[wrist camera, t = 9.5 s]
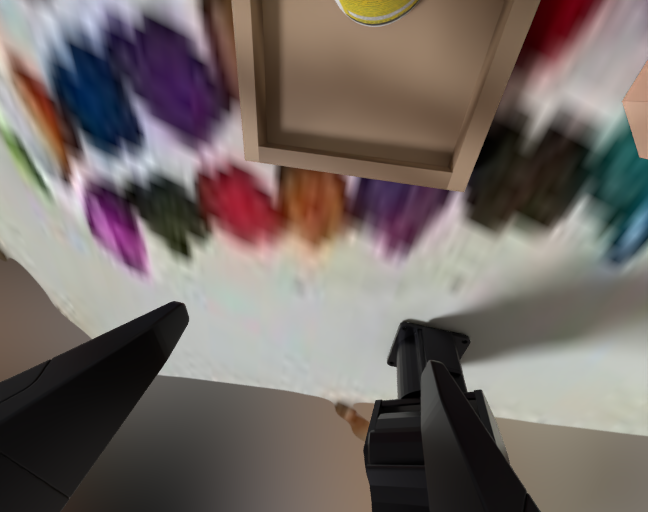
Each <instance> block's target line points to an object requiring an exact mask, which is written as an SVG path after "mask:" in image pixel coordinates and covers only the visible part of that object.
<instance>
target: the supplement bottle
mask: <svg viewBox="0 0 648 512" xmlns="http://www.w3.org/2000/svg"><path fill="white" fill-rule="evenodd" d="M335 1H336V3H337V5H338V6H339V8H340V9H341V10H342V11H343V12H344V13H345V14H346V15H347V16H348V17H349V18H350V19H352V20H353V21H355V22H356V23H359V24H361V25H364V26H369V27H380V26H385V25H388V24H391V23H394V22H396V21H397V20H399V19H401V18H402V17H404V16H405V15H406V14H408V13H409V12H410V11H411V10H412V9H413V8H414V7H415V6H416V5H417V4H418V3H419V1H420V0H335Z"/></svg>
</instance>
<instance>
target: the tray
mask: <svg viewBox="0 0 648 512" xmlns="http://www.w3.org/2000/svg"><path fill="white" fill-rule="evenodd" d="M539 3H540V0H420V1H419V3H418V4H417V5H416V6H415V7H414V8H413V9H412V10H411V11H410V12H409V13H408V14H406V15H405V16H404V17H402V18H401V19H399V20H397V21H396V22H394V23H391V24H388V25H385V26H380V27H369V26H364V25H361V24H359V23H356V22H355V21H353V20H352V19H350V18H349V17H348V16H347V15H346V14H345V13H344V12H343V11H342V10H341V9H340V8H339V6H338V5H337V3H336V1H335V0H232V12H233V24H234V36H235V47H236V59H237V71H238V83H239V95H240V107H241V119H242V131H243V143H244V154H245V160H246V161H253V162H260V163H267V164H273V165H280V166H287V167H294V168H301V169H308V170H315V171H322V172H329V173H336V174H342V175H349V176H356V177H363V178H370V179H377V180H384V181H391V182H398V183H404V184H411V185H418V186H425V187H432V188H439V189H446V190H453V191H460V192H464V191H465V188H466V186H467V183H468V181H469V178H470V176H471V173H472V171H473V168H474V166H475V163H476V161H477V158H478V156H479V153H480V151H481V148H482V146H483V143H484V141H485V138H486V136H487V133H488V131H489V128H490V126H491V123H492V121H493V118H494V116H495V113H496V111H497V108H498V106H499V103H500V101H501V98H502V96H503V93H504V91H505V88H506V86H507V83H508V81H509V78H510V76H511V73H512V71H513V68H514V66H515V63H516V60H517V58H518V55H519V53H520V50H521V48H522V45H523V43H524V40H525V38H526V35H527V33H528V30H529V28H530V25H531V23H532V20H533V18H534V15H535V13H536V10H537V8H538V5H539Z"/></svg>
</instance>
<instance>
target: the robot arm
mask: <svg viewBox="0 0 648 512" xmlns="http://www.w3.org/2000/svg"><path fill="white" fill-rule="evenodd" d="M188 322H189V316H188V312H187V309H186V306H185V304H184V303H181V302H176V301H173V302H170V303H168V304H166V305H164V306H161V307H159V308H157V309H155V310H153V311H151V312H149V313H147V314H145V315H143V316H140V317H138V318H136V319H134V320H132V321H130V322H128V323H126V324H124V325H121V326H119V327H117V328H115V329H113V330H111V331H109V332H107V333H105V334H102V335H100V336H98V337H96V338H94V339H92V340H90V341H88V342H86V343H83V344H81V345H79V346H77V347H75V348H73V349H71V350H69V351H67V352H65V353H62V354H60V355H58V356H56V357H54V358H53V359H52V360H47V361H46V362H43V363H41V364H39V365H37V366H35V367H33V368H30V369H28V370H26V371H24V372H22V373H20V374H17V375H15V376H13V377H11V378H9V379H6V380H4V381H2V382H0V512H61V510H62V509H63V507H64V506H65V505H66V503H67V502H68V500H69V498H70V497H71V496H72V494H73V493H74V491H75V490H76V489H77V487H78V486H79V484H80V483H81V482H82V480H83V479H84V477H85V476H86V475H87V473H88V472H89V470H90V469H91V467H92V466H93V465H94V463H95V462H96V460H97V459H98V458H99V456H100V455H101V453H102V452H103V451H104V449H105V448H106V446H107V445H108V444H109V442H110V441H111V439H112V437H113V436H114V435H115V434H116V432H117V431H118V429H119V428H120V427H121V425H122V424H123V422H124V421H125V419H126V418H127V417H128V415H129V414H130V412H131V411H132V410H133V408H134V406H135V405H136V404H137V402H138V401H139V400H140V398H141V397H142V395H143V394H144V392H145V391H146V390H147V388H148V387H149V385H150V384H151V383H152V381H153V380H154V378H155V377H156V376H157V374H158V373H159V371H160V370H161V368H162V367H163V366H164V364H165V363H166V361H167V359H168V358H169V356H170V355H171V353H172V351H173V349H174V348H175V346H176V344H177V342H178V341H179V339H180V337H181V335H182V334H183V332H184V330H185V328H186V327H187V325H188ZM404 327H406V328H404ZM469 344H470V339H469V337H468V336H467V335H463V334H458V333H454V332H449V331H444V330H439V329H435V328H430V327H425V326H421V325H416V324H411V323H407V322H403V323H400V325H399V328H398V331H397V333H396V336H395V339H394V342H393V344H392V347H391V350H390V353H389V355H388V358H387V364H388V365H390V366H394V367H397V389H398V399H394V400H384V401H383V400H376V401H375V405H374V409H373V413H372V417H371V421H370V425H369V428H368V432H367V436H366V441H365V445H364V450H363V451H364V458H365V459H364V460H365V468H366V473H367V477H368V480H369V484H370V492H371V501H372V512H541V511H540V510H539V508H538V507H537V505H536V504H535V502H534V501H533V499H532V498H531V496H530V495H529V494H528V493H527V491H526V489H525V487H524V486H523V484H522V483H521V481H520V480H519V478H518V476H517V475H516V473H515V472H514V470H513V469H512V467H511V466H510V462H509V458H508V454H507V451H506V448H505V445H504V442H503V439H502V436H501V434H500V431H499V428H498V425H497V422H496V420H495V418H494V415H493V413H492V411H491V409H490V407H489V405H488V402H487V400H486V398H485V396H484V394H483V391H482V390H474V392H467V388H466V384H465V380H464V376H463V371H462V367H461V363H460V359H461V357H462V355H463V354H464V352H465V351H466V349H467V347H468V346H469Z"/></svg>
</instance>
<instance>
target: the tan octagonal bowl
mask: <svg viewBox="0 0 648 512" xmlns="http://www.w3.org/2000/svg"><path fill="white" fill-rule="evenodd" d="M622 103H623V106H624V109H625V112H626V115H627V119H628V122H629V125H630V128H631V131H632V134H633V138H634V141H635V144H636V147H637V150H638V154H639V157H641V158H645V159H648V61H647V62H646V64H645V65H644V67H643V69H642V70H641V72H640V73H639V75H638V77H637V78H636V80H635V81H634V83H633V85H632V86H631V88H630V89H629V91H628V93H627V94H626V96H625V97H624V99H623V101H622Z"/></svg>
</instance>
